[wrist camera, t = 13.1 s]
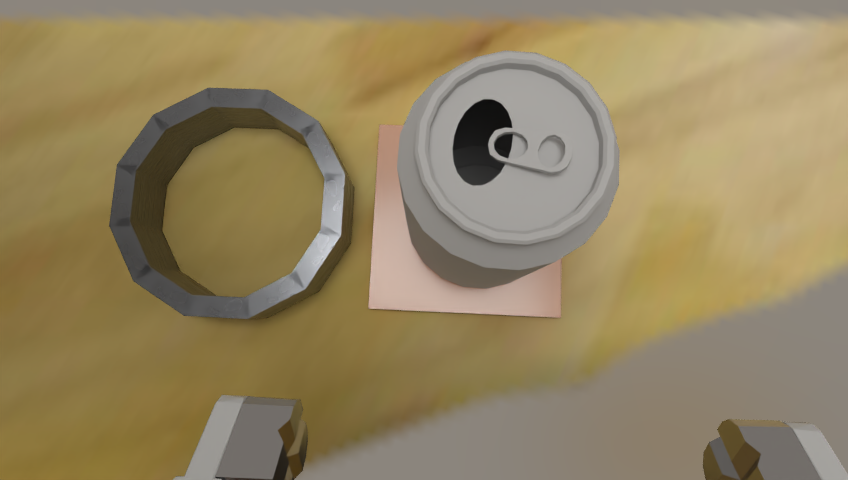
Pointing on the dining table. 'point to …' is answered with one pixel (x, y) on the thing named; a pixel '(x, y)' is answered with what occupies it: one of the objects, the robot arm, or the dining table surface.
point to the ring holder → (160, 159)
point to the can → (505, 167)
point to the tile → (418, 284)
